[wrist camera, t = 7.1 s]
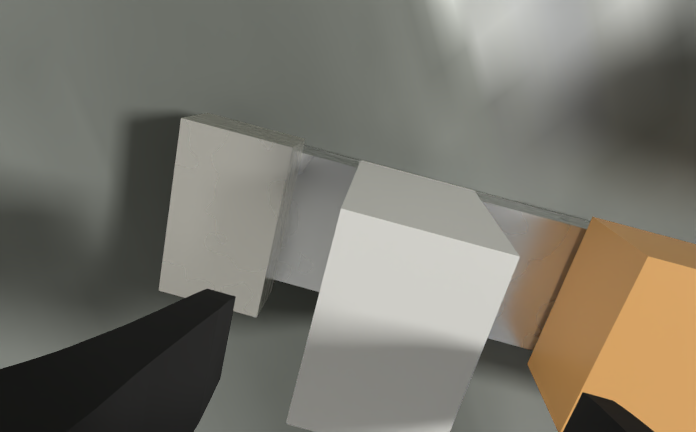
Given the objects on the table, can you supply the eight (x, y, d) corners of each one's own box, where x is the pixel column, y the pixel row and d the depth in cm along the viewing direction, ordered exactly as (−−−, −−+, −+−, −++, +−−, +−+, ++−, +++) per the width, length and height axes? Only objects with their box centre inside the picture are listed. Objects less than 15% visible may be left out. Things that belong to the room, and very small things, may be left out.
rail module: (422, 337, 17) (436, 465, 12) (321, 309, 17) (285, 423, 12) (473, 190, 15) (520, 256, 10) (360, 160, 16) (340, 208, 10)
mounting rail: (877, 437, 18) (984, 518, 15) (188, 249, 19) (144, 286, 16) (976, 310, 16) (1124, 370, 13) (209, 106, 17) (165, 113, 14)
